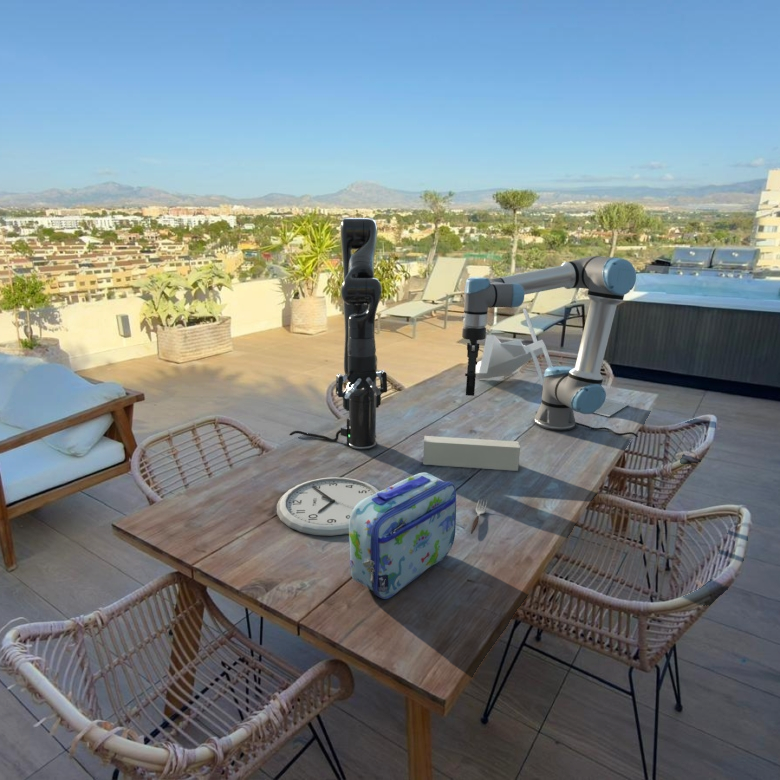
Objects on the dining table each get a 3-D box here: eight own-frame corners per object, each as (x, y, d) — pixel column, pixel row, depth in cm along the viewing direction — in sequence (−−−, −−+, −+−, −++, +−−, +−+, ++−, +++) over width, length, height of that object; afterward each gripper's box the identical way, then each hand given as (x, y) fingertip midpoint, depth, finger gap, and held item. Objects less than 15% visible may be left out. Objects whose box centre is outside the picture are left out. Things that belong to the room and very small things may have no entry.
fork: (465, 534, 130) (466, 527, 129) (478, 504, 144) (478, 498, 144) (476, 536, 129) (476, 529, 128) (487, 506, 143) (488, 499, 143)
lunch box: (377, 612, 103) (378, 518, 97) (342, 586, 111) (341, 497, 104) (459, 557, 121) (465, 475, 115) (425, 538, 128) (428, 460, 122)
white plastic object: (492, 421, 263) (472, 398, 238) (473, 348, 285) (453, 320, 260) (564, 397, 251) (551, 370, 226) (538, 322, 273) (524, 290, 248)
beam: (516, 464, 170) (518, 441, 167) (517, 470, 165) (520, 447, 163) (423, 458, 173) (424, 435, 171) (423, 464, 168) (423, 441, 166)
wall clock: (392, 527, 129) (268, 531, 127) (391, 533, 130) (269, 537, 127) (383, 473, 158) (282, 475, 155) (383, 478, 158) (282, 480, 156)
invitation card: (608, 416, 214) (573, 407, 224) (608, 416, 214) (573, 408, 224) (628, 404, 229) (594, 396, 238) (628, 405, 229) (594, 397, 238)
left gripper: (381, 347, 147) (381, 401, 153) (332, 351, 143) (333, 406, 148) (391, 353, 141) (390, 410, 146) (339, 357, 136) (340, 416, 141)
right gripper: (463, 319, 181) (460, 378, 187) (461, 333, 157) (457, 399, 164) (485, 320, 180) (481, 379, 186) (487, 334, 156) (481, 401, 163)
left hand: (361, 408), depth 147 cm, fingers open, 8 cm apart
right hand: (470, 389), depth 175 cm, fingers open, 13 cm apart
